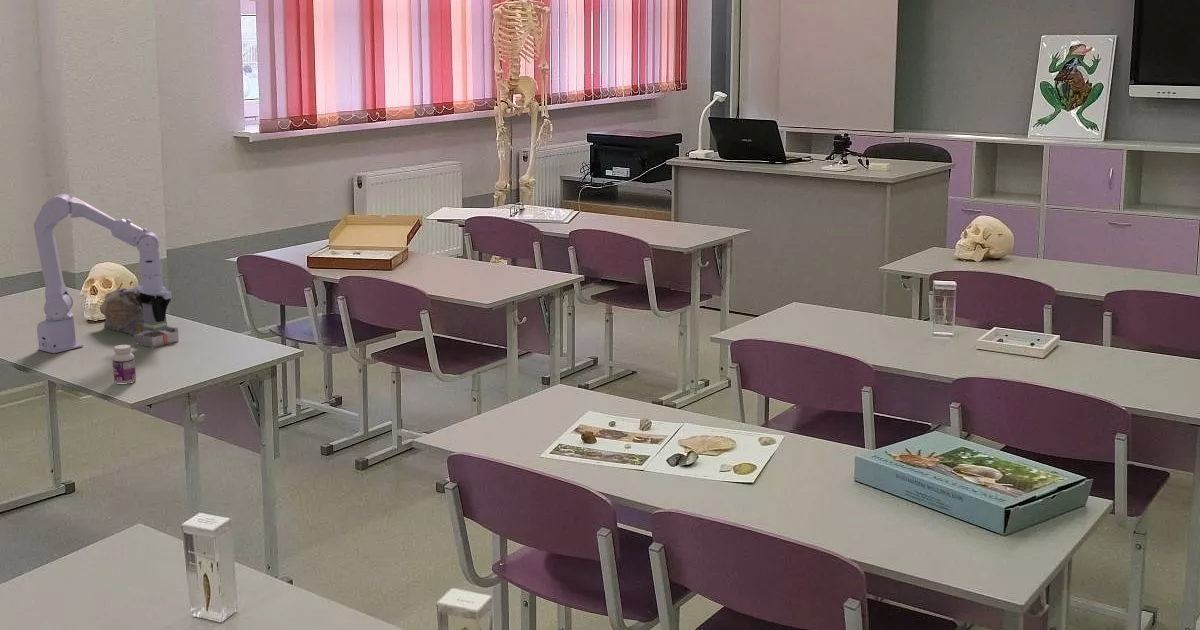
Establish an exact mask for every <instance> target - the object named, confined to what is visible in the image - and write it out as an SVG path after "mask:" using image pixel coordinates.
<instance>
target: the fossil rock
mask: <svg viewBox="0 0 1200 630" xmlns="http://www.w3.org/2000/svg"><path fill="white" fill-rule="evenodd" d="M139 295H140V293H134V288H132V289H131V288H130V289H127V288H126V287H125V288H118V289H115V290H112V291H111V292H110V291H109V292H108V293H107V294H106V295H105V296H104V300H103V302H102V303H101V304H100V306H99V311H100V313H101V314H102V315H104V316H105V317H104V329H107V328H109V329H108V330H113V331H115V330H117V332H119V331H120V333H124V334H129V333H130V334H129V335H130V336H132V335H134V334H135V333H139V332H143V331H147V330H145V328H144V317H143V310H142V307H141V305H140V304H139V302H138V301H137V299H136V296H139ZM155 298H156V297H155Z"/></svg>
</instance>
